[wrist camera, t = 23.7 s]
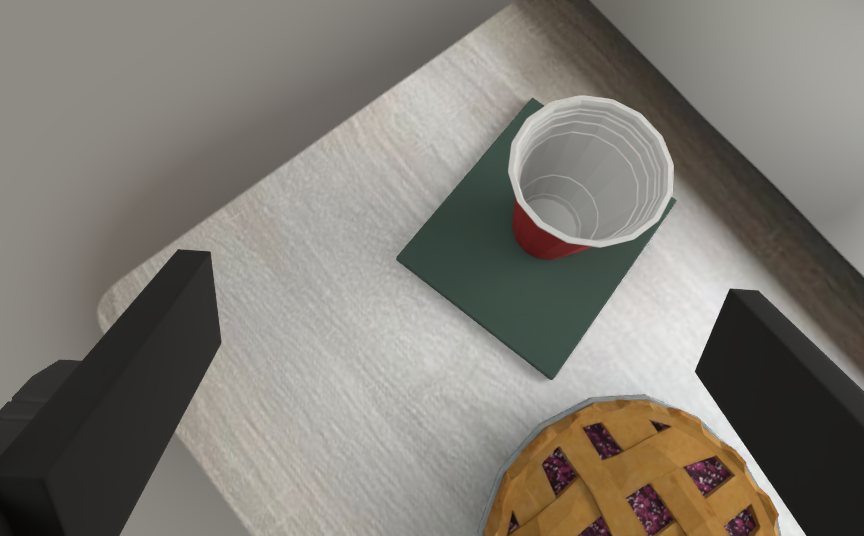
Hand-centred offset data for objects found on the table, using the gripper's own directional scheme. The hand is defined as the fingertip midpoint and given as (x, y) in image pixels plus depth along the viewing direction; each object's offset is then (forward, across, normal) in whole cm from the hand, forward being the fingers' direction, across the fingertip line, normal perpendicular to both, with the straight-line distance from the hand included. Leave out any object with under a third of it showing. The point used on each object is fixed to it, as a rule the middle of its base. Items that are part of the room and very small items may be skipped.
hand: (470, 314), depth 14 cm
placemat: (+31, +10, -11) cm, 34 cm away
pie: (+13, +16, -29) cm, 36 cm away
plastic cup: (+30, +10, -11) cm, 34 cm away
